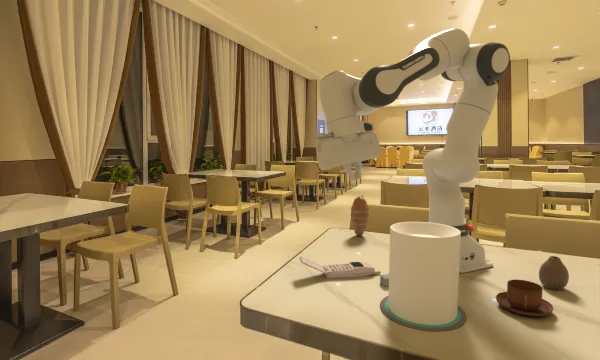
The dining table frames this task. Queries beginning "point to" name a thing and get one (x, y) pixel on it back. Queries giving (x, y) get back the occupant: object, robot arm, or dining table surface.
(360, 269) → the mobile phone
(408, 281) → the canister
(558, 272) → the vase
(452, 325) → the charging mat
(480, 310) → the dining table surface
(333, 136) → the robot arm
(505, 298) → the cup and saucer
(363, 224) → the brown ribbed oblong piece
